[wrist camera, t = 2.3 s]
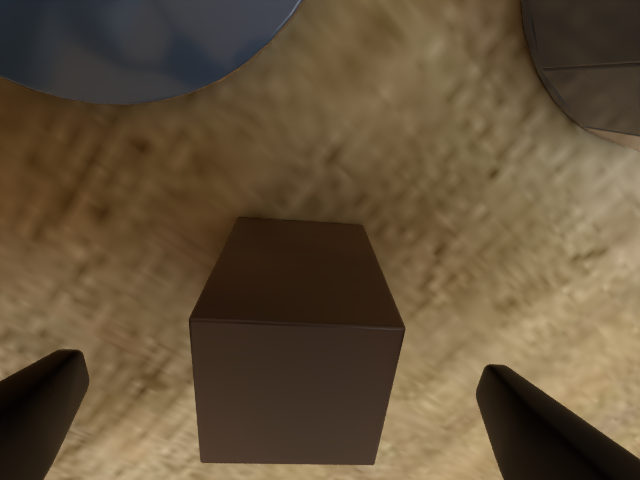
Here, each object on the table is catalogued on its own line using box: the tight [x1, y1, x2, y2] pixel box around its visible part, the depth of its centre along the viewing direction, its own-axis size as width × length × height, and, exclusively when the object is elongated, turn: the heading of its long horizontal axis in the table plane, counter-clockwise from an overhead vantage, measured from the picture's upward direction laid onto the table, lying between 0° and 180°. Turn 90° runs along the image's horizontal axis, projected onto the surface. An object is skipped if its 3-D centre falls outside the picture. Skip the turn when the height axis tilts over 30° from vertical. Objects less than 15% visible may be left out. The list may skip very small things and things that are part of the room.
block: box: [189, 217, 405, 465], centre depth 9 cm, size 4×4×5 cm
